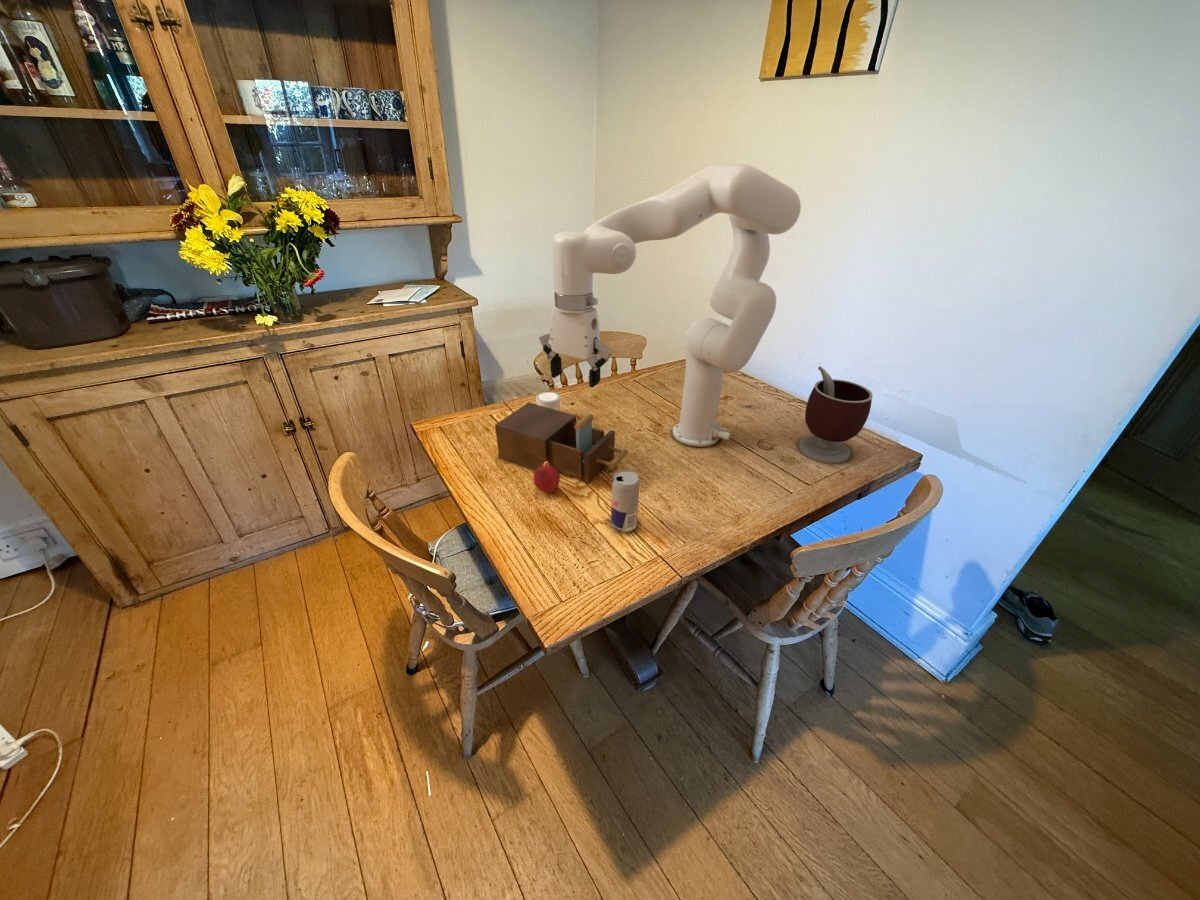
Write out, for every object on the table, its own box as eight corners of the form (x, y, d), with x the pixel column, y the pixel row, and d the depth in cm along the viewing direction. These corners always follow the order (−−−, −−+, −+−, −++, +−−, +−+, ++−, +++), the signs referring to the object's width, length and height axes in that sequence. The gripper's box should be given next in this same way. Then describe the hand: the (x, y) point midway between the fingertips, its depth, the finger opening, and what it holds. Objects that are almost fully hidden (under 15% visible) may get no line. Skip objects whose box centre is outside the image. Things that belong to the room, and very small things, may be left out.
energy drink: (609, 516, 97) (610, 470, 91) (634, 515, 98) (637, 468, 91) (612, 533, 93) (613, 486, 86) (638, 532, 93) (642, 485, 87)
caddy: (601, 456, 113) (601, 414, 106) (585, 472, 107) (585, 428, 101) (583, 451, 115) (583, 409, 108) (567, 465, 109) (565, 423, 103)
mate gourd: (865, 458, 117) (893, 386, 106) (823, 469, 112) (848, 395, 101) (819, 429, 129) (840, 362, 118) (780, 439, 124) (798, 370, 113)
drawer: (632, 463, 112) (633, 436, 108) (608, 490, 103) (608, 462, 99) (568, 443, 120) (567, 417, 115) (540, 467, 110) (538, 439, 106)
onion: (549, 502, 101) (547, 473, 96) (529, 494, 103) (526, 464, 99) (565, 489, 105) (564, 460, 101) (545, 480, 107) (543, 452, 103)
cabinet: (577, 448, 120) (576, 415, 114) (547, 474, 110) (545, 440, 104) (531, 433, 126) (528, 402, 120) (499, 457, 115) (494, 424, 110)
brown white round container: (557, 425, 130) (556, 403, 126) (534, 422, 131) (532, 400, 127) (563, 414, 135) (563, 392, 131) (541, 411, 136) (540, 390, 133)
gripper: (621, 302, 91) (618, 382, 100) (548, 291, 98) (552, 366, 107) (602, 312, 85) (601, 395, 94) (527, 298, 92) (532, 378, 101)
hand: (575, 380), depth 101 cm, fingers open, 9 cm apart
